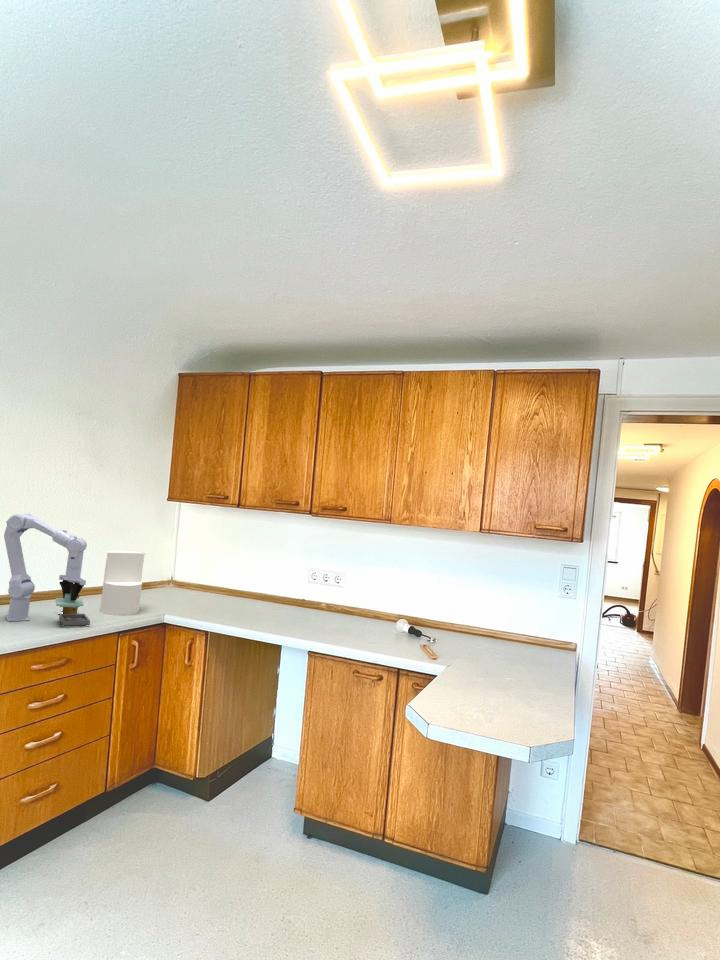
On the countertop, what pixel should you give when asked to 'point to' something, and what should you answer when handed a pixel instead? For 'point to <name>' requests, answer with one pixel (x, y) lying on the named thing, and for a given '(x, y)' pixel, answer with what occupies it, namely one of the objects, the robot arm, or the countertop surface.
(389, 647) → the countertop surface
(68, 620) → the grey tray
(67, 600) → the lid
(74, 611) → the condiment
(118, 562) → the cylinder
